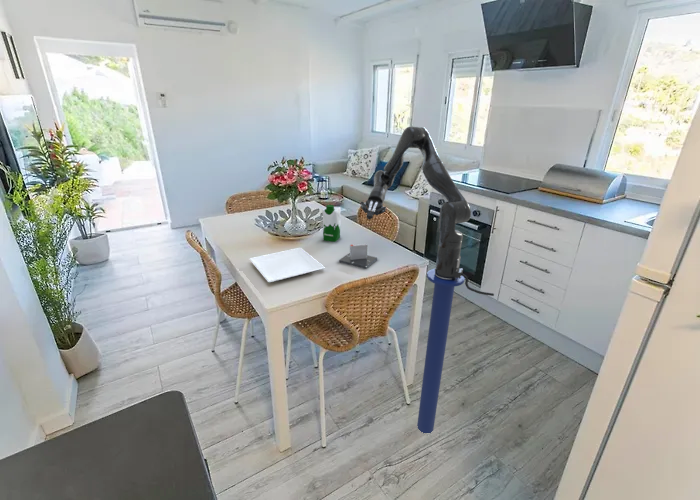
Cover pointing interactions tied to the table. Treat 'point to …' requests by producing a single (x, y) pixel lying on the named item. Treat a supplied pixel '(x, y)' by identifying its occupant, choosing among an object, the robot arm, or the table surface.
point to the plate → (285, 264)
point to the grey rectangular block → (358, 251)
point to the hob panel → (358, 261)
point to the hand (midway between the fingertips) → (368, 217)
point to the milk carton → (331, 223)
